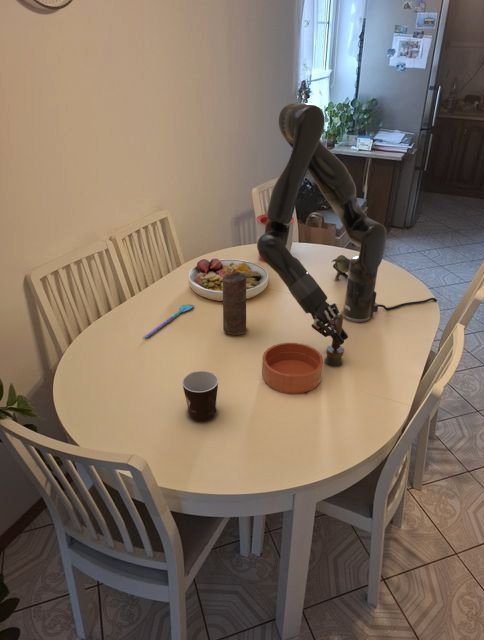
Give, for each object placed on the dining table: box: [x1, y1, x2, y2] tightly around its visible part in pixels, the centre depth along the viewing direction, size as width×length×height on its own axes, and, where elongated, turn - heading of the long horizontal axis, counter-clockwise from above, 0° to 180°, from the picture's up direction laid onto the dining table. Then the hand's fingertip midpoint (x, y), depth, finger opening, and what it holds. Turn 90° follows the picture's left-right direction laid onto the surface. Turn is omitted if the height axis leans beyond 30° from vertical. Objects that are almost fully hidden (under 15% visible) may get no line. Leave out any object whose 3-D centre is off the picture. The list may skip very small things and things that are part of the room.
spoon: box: [145, 304, 194, 339], centre depth 161 cm, size 25×4×1 cm, turn 158°
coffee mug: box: [181, 370, 219, 423], centre depth 119 cm, size 12×9×10 cm
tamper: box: [325, 313, 345, 367], centre depth 139 cm, size 5×5×16 cm
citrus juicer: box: [255, 213, 295, 262], centre depth 203 cm, size 16×17×20 cm
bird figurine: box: [331, 254, 351, 281], centre depth 190 cm, size 13×10×20 cm
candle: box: [222, 272, 247, 336], centre depth 152 cm, size 8×7×20 cm
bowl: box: [187, 257, 270, 302], centre depth 183 cm, size 30×30×8 cm
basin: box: [261, 342, 324, 395], centre depth 136 cm, size 17×17×6 cm
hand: (343, 341), depth 139 cm, fingers closed
